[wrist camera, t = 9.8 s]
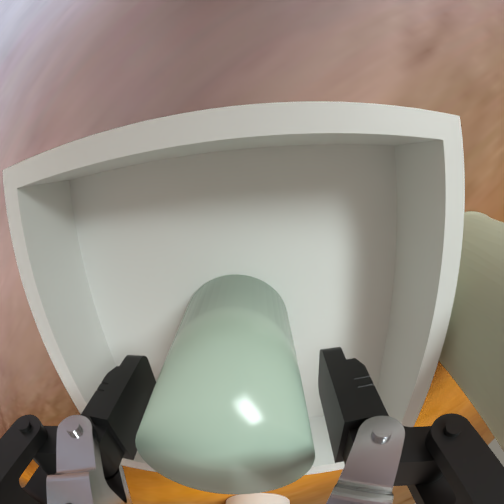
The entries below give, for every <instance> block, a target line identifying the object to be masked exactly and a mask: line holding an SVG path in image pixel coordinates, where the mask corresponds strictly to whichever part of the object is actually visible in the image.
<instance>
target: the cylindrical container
mask: <svg viewBox="0 0 504 504" xmlns="http://www.w3.org/2000/svg"><path fill="white" fill-rule="evenodd" d="M226 504H290V501H289V499H288V498H286V497H284V496H281V495H277V494H270V493H253V494H239V495H235V496H232V497H230V498H228V499H227V500H226Z"/></svg>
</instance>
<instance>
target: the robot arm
mask: <svg viewBox="0 0 504 504" xmlns="http://www.w3.org/2000/svg"><path fill="white" fill-rule="evenodd" d="M155 384H156V380H155V377H154V375H153V372H152V369H151V366H150V363H149V360H148V358H147V357H146V356H140V355H127V356H126V357H125V358H124V360H123V361H122V363H121V364H120V366H116V367H115V368H113V369H112V370H111V371H110V372H108V373H107V374H106V376H105V377H104V379H103V380H102V384H100V385H99V387H98V388H97V391H95V393H94V394H93V396H92V398H91V399H90V401H89V402H88V404H87V405H86V407H85V409H84V410H83V412H82V413H81V415H73V416H69V417H67V418H65V419H64V420H63V421H62V422H61V423H60V424H59V426H43V425H42V423H41V422H40V421H39V419H38V418H37V417H36V416H33V415H25V416H22V417H20V418H19V419H17V420H16V421H15V422H14V424H13V425H12V426H11V427H10V428H9V429H8V431H7V432H6V433H5V434H4V435H3V436H2V438H1V439H0V504H132V501H131V497H130V494H129V490H128V486H127V483H126V479H125V475H124V470H123V467H122V466H121V464H120V463H121V461H122V458H125V459H130V460H134V458H135V455H136V453H137V448H136V443H135V439H136V434H137V432H138V429H139V426H140V423H141V421H142V418H143V415H144V413H145V410H146V408H147V405H148V402H149V400H150V397H151V395H152V392H153V389H154V387H155ZM318 389H319V396H320V400H321V404H322V408H323V413H324V417H325V421H326V425H327V430H328V434H329V439H330V443H331V447H332V452H333V456H334V461H335V463H338V462H343V461H344V464H345V466H344V469H343V471H342V473H341V476H340V478H339V480H338V482H337V484H336V485H335V487H334V489H333V491H332V493H331V495H330V497H329V499H328V501H327V503H326V504H392V502H393V494H392V488H393V486H402V485H407V486H408V488H409V490H410V492H411V494H412V496H413V498H414V500H415V502H416V504H504V467H503V466H502V464H501V463H500V461H499V460H498V459H497V457H496V456H495V455H494V453H493V452H492V451H491V449H490V448H489V447H488V445H487V444H486V443H485V441H484V440H483V439H482V438H481V436H480V435H479V434H478V432H477V431H476V430H475V429H474V427H473V426H472V425H471V424H470V422H469V421H468V420H467V419H466V418H464V417H463V416H461V415H458V414H445V415H442V416H440V417H439V418H437V419H436V420H435V421H434V423H433V425H432V426H427V427H406V426H403V425H402V424H401V423H400V422H399V421H398V420H397V419H395V418H392V417H389V415H388V413H387V411H386V409H385V407H384V405H383V402H382V400H381V398H380V396H379V394H378V392H377V390H376V387H375V385H373V381H372V379H371V377H370V375H369V373H368V371H367V369H366V367H365V365H364V364H362V363H361V362H360V361H359V360H357V359H356V358H352V359H346V358H345V355H344V353H343V351H342V348H341V347H334V348H327V349H320V353H319V373H318ZM32 459H33V460H34V461H35V462H36V463H37V464H38V465H39V467H38V469H37V470H36V471H35V473H34V474H33V476H32V477H31V479H30V480H29V482H28V483H27V485H26V486H25V487H24V488H21V486H20V484H19V478H20V476H21V474H22V473H23V472H24V470H25V469H26V467H27V466H28V465H29V463H30V462H31V460H32Z"/></svg>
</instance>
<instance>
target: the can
mask: <svg viewBox="0 0 504 504" xmlns="http://www.w3.org/2000/svg"><path fill="white" fill-rule="evenodd" d="M439 361H440V363H441V364H442V365H443V366H444V367H445V369H446V370H447V371H448V372H449V374H450V375H451V376H452V378H453V379H454V380H455V381H456V383H457V384H458V385H459V387H460V388H461V389H462V391H463V392H464V393H465V395H466V396H467V397H468V399H469V400H470V401H471V403H472V404H473V406H474V407H475V408H476V410H477V411H478V413H479V414H480V416H481V417H482V419H483V420H484V422H485V423H486V425H487V426H488V428H489V429H490V431H491V432H492V434H493V435H494V437H495V438H496V440H497V441H498V443H499V445H500V446H501V448H502V449H503V451H504V223H503V222H500V221H497V220H494V219H492V218H490V217H489V216H487V215H485V214H483V213H480V212H474V211H469V212H464V226H463V239H462V250H461V259H460V266H459V273H458V280H457V286H456V292H455V297H454V302H453V307H452V312H451V316H450V321H449V325H448V329H447V333H446V337H445V341H444V344H443V348H442V351H441V355H440V358H439Z"/></svg>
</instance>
